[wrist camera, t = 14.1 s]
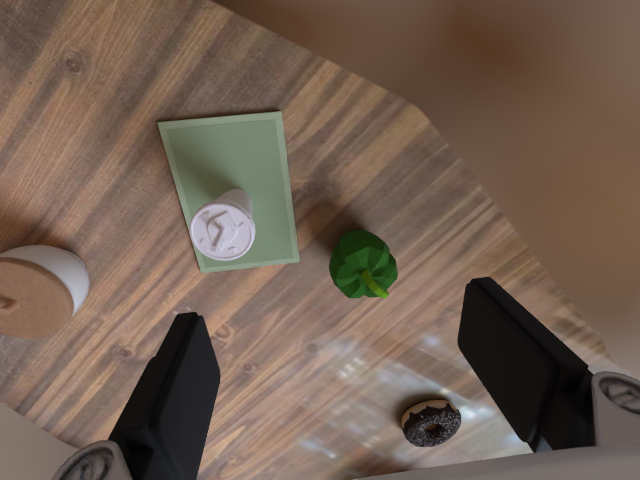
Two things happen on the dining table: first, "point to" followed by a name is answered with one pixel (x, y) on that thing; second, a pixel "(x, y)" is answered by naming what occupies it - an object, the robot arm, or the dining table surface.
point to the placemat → (236, 179)
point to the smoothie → (224, 226)
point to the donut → (430, 423)
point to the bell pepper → (362, 265)
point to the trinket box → (40, 290)
